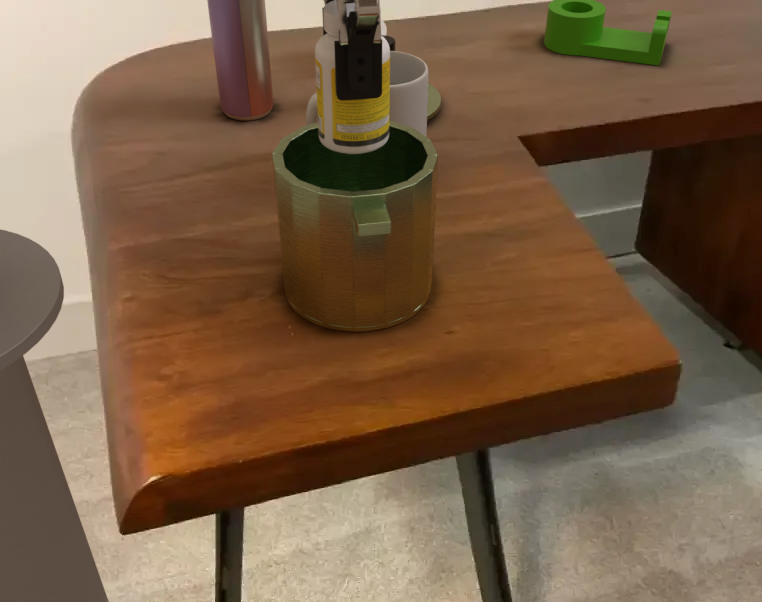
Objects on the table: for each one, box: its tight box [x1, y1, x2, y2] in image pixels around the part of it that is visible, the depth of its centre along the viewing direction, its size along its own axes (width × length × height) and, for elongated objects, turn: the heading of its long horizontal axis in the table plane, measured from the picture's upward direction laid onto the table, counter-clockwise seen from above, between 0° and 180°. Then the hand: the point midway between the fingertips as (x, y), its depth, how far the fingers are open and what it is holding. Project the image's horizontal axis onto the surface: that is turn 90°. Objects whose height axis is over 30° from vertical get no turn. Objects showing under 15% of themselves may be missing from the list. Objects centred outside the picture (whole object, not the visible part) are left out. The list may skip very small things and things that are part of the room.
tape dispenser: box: [543, 0, 673, 66], centre depth 116 cm, size 15×7×5 cm, turn 71°
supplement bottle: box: [314, 0, 390, 154], centre depth 67 cm, size 5×5×10 cm
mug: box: [305, 50, 429, 137], centre depth 90 cm, size 12×8×11 cm
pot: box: [271, 121, 439, 333], centre depth 75 cm, size 13×18×12 cm
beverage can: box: [206, 0, 274, 121], centre depth 99 cm, size 6×6×15 cm
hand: (352, 76), depth 67 cm, fingers closed on supplement bottle, 5 cm apart
